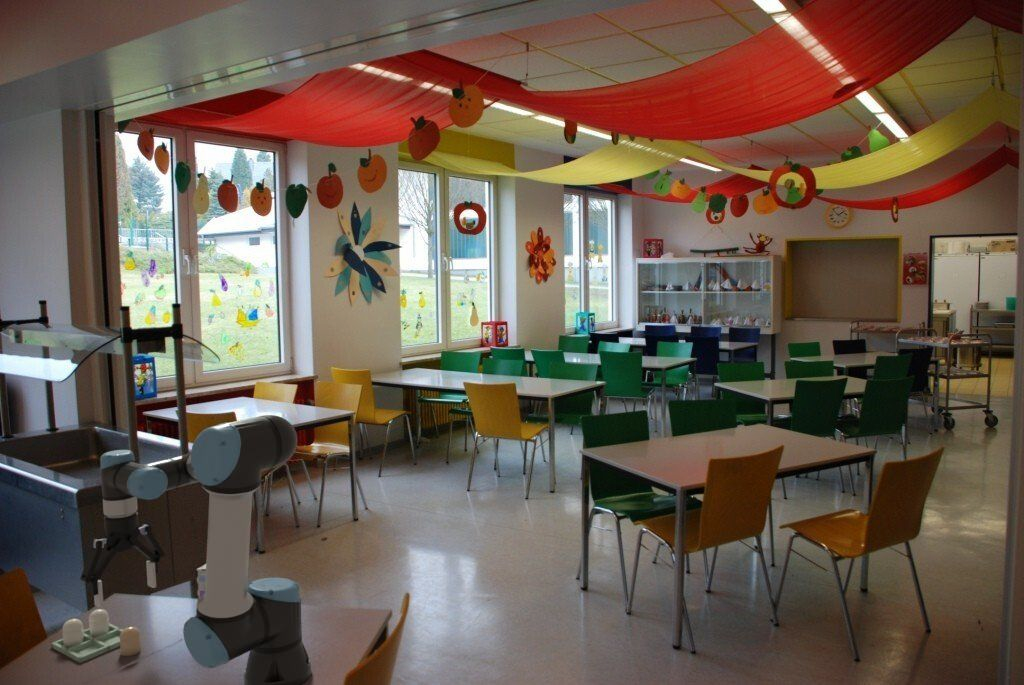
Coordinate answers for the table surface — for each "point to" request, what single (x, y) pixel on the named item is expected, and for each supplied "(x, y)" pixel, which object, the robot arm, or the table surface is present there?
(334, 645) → the table surface
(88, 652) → the egg tray
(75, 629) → the cream egg
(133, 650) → the brown egg
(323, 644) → the table surface
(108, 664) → the table surface
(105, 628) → the cream egg
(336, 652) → the table surface
